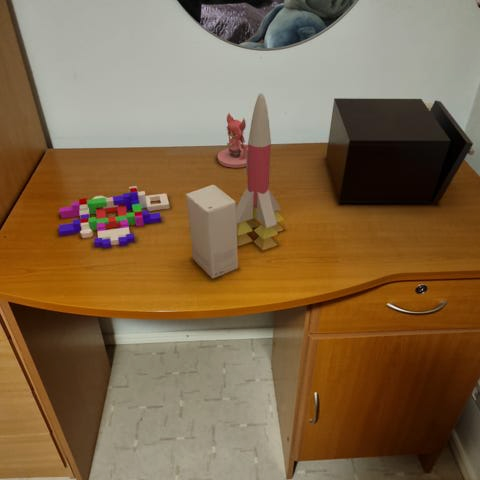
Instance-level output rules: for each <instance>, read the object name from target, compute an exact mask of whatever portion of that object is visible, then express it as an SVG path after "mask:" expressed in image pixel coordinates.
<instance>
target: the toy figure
mask: <svg viewBox="0 0 480 480" xmlns="http://www.w3.org/2000/svg"><path fill="white" fill-rule="evenodd" d="M226 123H227V126H226V127H225V129H226V131H227V135H228V142H227V143H226V146H227V147H228V148H226V149H222V150H221V151H219V152H218V154H217V162H218V163H219V164H220V165H222V166H224V167H228V168H234V169H237V168H238V169H239V168H243V167H246V157H247V148H248V145H246V144H245V143H246V141H245V137H244V131H245V129H246V127H247V123H246V119H245V117H243V118H242V121H240V120H239V119H234V117H233V116H232V115H231V114H230V113H228V114H227V115H226Z"/></svg>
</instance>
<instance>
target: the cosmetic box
mask: <svg viewBox="0 0 480 480" xmlns="http://www.w3.org/2000/svg"><path fill="white" fill-rule="evenodd" d="M185 198H186V208H187V217H188V226H189V233H190V241H191V249H192V259H193V261H194V262H195V263H196V264H197V265H198V266H199V267H200V268H202V270H203V271H204V272H205V273H206V274H207V275H208V276H209V277H210V278H211V279H216V278H218V277H221V276H223V275H226V274H228V273H230V272H233V271H235V270H237V269H238V268H239V258H238V256H239V255H238V253H239V252H238V246H237V228H236V208H237V202H236V201H235V199H233V198H231V196H229V195H228V194H227V193H225V192H224V191H223V190H222V189H220V188H219V187H218V186H217V185H215V184H211V185H208V186H205V187H201V188H200V189H199V188H198V189H197V190H194V191H190V192H187V193H185Z"/></svg>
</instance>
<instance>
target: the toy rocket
mask: <svg viewBox="0 0 480 480" xmlns="http://www.w3.org/2000/svg"><path fill="white" fill-rule="evenodd" d="M249 128H250V129H249V135H248V142H247V157H246V166H245V167H246V168H245V170H246V171H245V175H246V176H247V186H246V188H245V189H244V192H243V193H242V196H241V198H240V199H239V201H238V204H237V205H236V228H237V247H240V246H244V245H246V244H249V243H252V242H253V243H254V244H255V245H256V246H257V247H258V248H260V249H261V250H262V251H265V250H269V249H270V248H273V247H276V246H278V244H277V243H276V241H274V239H273V238H272V237H274V236H275V237H276V236H277V235H279V232H281V231H284V228H283V227H282V225H280V223H279V222H282V221H284V220H285V219H284V218H283V217H282V216H281V214H280V213H279V211H280V210H282V208H281V206H280V204H279V203H278V201H277V200H276V198H275V196H274V195H273V193H272V191H271V190H270V188H269V187H270V186H269V185H270V169H271V149H272V139H271V128H270V119H269V112H268V105H267V101H266V98H265V95H264V94H263V93H262V92H261V93H259V94H258V96H257V97H256V101H255V104H254V108H253V113H252V117H251V122H250V127H249ZM256 220H257V221H258V222H259V223H260V225H259V224H258V223H257V221H256ZM250 232H255V233H256V234H257V235H258V236H257V238H256V239H254V240H253V239H252V237H250V236H249V234H248V233H250Z"/></svg>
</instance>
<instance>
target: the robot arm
mask: <svg viewBox="0 0 480 480" xmlns="http://www.w3.org/2000/svg"><path fill="white" fill-rule="evenodd" d="M475 3H476V5H477V8H478V9H480V0H475Z"/></svg>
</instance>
